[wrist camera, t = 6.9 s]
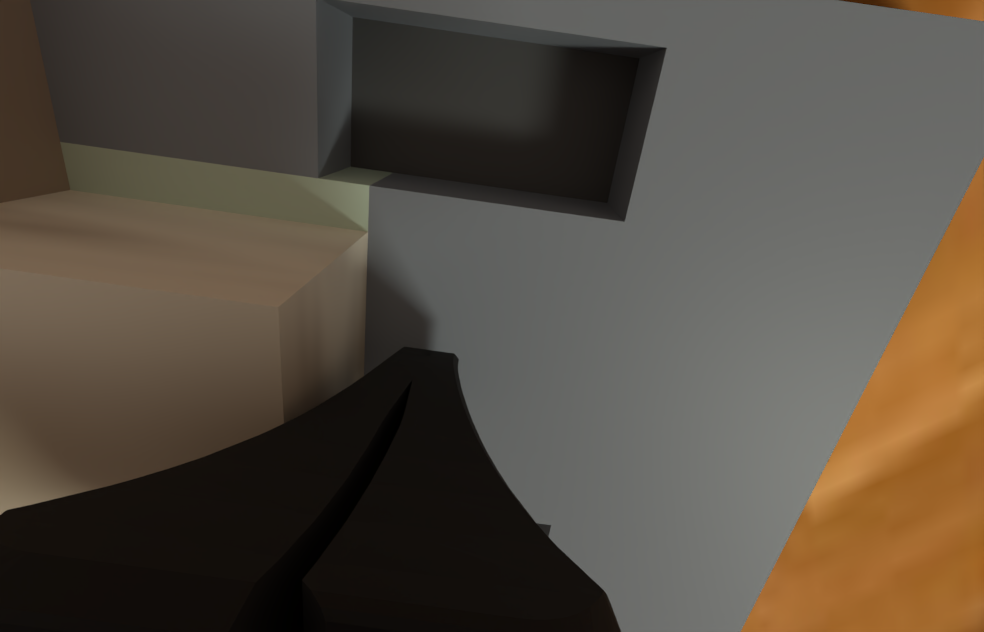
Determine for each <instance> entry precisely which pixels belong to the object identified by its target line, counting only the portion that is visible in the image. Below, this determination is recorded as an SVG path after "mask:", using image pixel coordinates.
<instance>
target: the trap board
mask: <svg viewBox="0 0 984 632" xmlns="http://www.w3.org/2000/svg"><path fill="white" fill-rule="evenodd" d="M983 157H984V21H977V20H970V19H963V18H956V17H950V16H943V15H936V14H929V13H922V12H915V11H908V10H901V9H895V8H888V7H881V6H874V5H867V4H860V3H853V2H846V1H840V0H0V203H3V202H8V201H14V200H19V199H24V198H30V197H35V196H41V195H46V194H51V193H57V192H62V191H67V190H74V191H82V192H89V193H96V194H103V195H110V196H117V197H124V198H131V199H138V200H145V201H153V202H160V203H167V204H174V205H181V206H188V207H195V208H202V209H209V210H216V211H223V212H231V213H238V214H245V215H252V216H259V217H266V218H273V219H280V220H287V221H294V222H302V223H309V224H316V225H323V226H330V227H337V228H344V229H351V230H358V231H365V232H368V251H367V285H366V319H365V353H364V375H366V374H367V373H369V372H370V371H371V370H373V369H374V368H375V367H377V366H378V365H380V364H381V363H382V362H384V361H385V360H386V359H388V358H389V357H390V356H392V355H393V354H394V353H396V352H397V351H399V350H400V349H401V348H403V347H411V348H419V349H426V350H433V351H440V352H447V353H454V354H455V355H456V356H457V357H458V359H459V363H458V373H459V379H460V384H461V388H462V392H463V395H464V398H465V401H466V404H467V407H468V410H469V413H470V416H471V418H472V421H473V423H474V425H475V428H476V430H477V432H478V434H479V437H480V439H481V441H482V443H483V445H484V447H485V449H486V451H487V452H488V454H489V456H490V458H491V459H492V461H493V463H494V465H495V466H496V468H497V470H498V471H499V473H500V474H501V476H502V477H503V479H504V481H505V482H506V484H507V485H508V487H509V488H510V490H511V491H512V492H513V494H514V495H515V496H516V497H517V499H518V500H519V501H520V503H521V504H522V505H523V507H524V508H525V509H526V510H527V512H528V513H529V514H530V516H531V517H532V518H533V520H534V521H535V522H536V523H537V525H538V526H539V527H540V528H541V529H542V530H543V531H544V533H545V534H546V535H547V536H548V537H549V538H550V539H551V540H552V541H553V542H554V543H555V545H556V546H557V547H558V548H559V549H561V550H562V551H563V552H564V553H565V554H566V555H567V556H568V557H569V558H570V559H571V560H572V561H573V562H574V563H575V564H576V565H578V566H579V567H580V568H581V569H582V570H583V571H584V572H585V573H586V574H587V575H588V576H589V577H590V578H591V579H592V580H593V581H595V582H596V583H597V584H598V585H599V586H600V587H601V588H602V589H603V590H604V591H605V592H606V594H607V596H608V598H609V601H610V603H611V606H612V608H613V611H614V614H615V616H616V619H617V622H618V624H619V627H620V630H621V632H740V631H741V629H742V628H743V626H744V624H745V622H746V620H747V618H748V616H749V614H750V612H751V610H752V608H753V606H754V604H755V602H756V600H757V598H758V596H759V594H760V592H761V590H762V589H763V587H764V585H765V583H766V581H767V579H768V577H769V575H770V573H771V571H772V569H773V567H774V565H775V563H776V561H777V559H778V557H779V555H780V553H781V551H782V549H783V548H784V546H785V544H786V542H787V540H788V538H789V536H790V534H791V532H792V530H793V528H794V526H795V524H796V522H797V520H798V518H799V516H800V514H801V512H802V510H803V509H804V507H805V505H806V503H807V501H808V499H809V497H810V495H811V493H812V491H813V489H814V487H815V485H816V483H817V481H818V479H819V477H820V475H821V473H822V471H823V470H824V468H825V466H826V464H827V462H828V460H829V458H830V456H831V454H832V452H833V450H834V448H835V446H836V444H837V442H838V440H839V438H840V436H841V434H842V432H843V430H844V429H845V427H846V425H847V423H848V421H849V419H850V417H851V415H852V413H853V411H854V409H855V407H856V405H857V403H858V401H859V399H860V397H861V395H862V393H863V391H864V390H865V388H866V386H867V384H868V382H869V380H870V378H871V376H872V374H873V372H874V370H875V368H876V366H877V364H878V362H879V360H880V358H881V356H882V354H883V352H884V351H885V349H886V347H887V345H888V343H889V341H890V339H891V337H892V335H893V333H894V331H895V329H896V327H897V325H898V323H899V321H900V319H901V317H902V315H903V313H904V311H905V310H906V308H907V306H908V304H909V302H910V300H911V298H912V296H913V294H914V292H915V290H916V288H917V286H918V284H919V282H920V280H921V278H922V276H923V274H924V272H925V271H926V269H927V267H928V265H929V263H930V261H931V259H932V257H933V255H934V253H935V251H936V249H937V247H938V245H939V243H940V241H941V239H942V237H943V235H944V233H945V232H946V230H947V228H948V226H949V224H950V222H951V220H952V218H953V216H954V214H955V212H956V210H957V208H958V206H959V204H960V202H961V200H962V198H963V196H964V194H965V192H966V191H967V189H968V187H969V185H970V183H971V181H972V179H973V177H974V175H975V173H976V171H977V169H978V167H979V165H980V163H981V161H982V159H983Z"/></svg>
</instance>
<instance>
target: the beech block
mask: <svg viewBox="0 0 984 632" xmlns="http://www.w3.org/2000/svg"><path fill="white" fill-rule="evenodd" d="M367 251H368V232H365V231H358V230H351V229H344V228H337V227H330V226H323V225H316V224H309V223H302V222H294V221H287V220H280V219H273V218H266V217H259V216H252V215H245V214H238V213H231V212H223V211H216V210H209V209H202V208H195V207H188V206H181V205H174V204H167V203H160V202H153V201H145V200H138V199H131V198H124V197H117V196H110V195H103V194H96V193H89V192H82V191H74V190H67V191H62V192H57V193H51V194H46V195H41V196H35V197H30V198H24V199H19V200H14V201H8V202H3V203H0V515H1V514H2V513H3V512H5V511H6V510H9V509H13V508H18V507H23V506H27V505H32V504H36V503H40V502H44V501H49V500H53V499H57V498H61V497H65V496H69V495H73V494H77V493H82V492H86V491H90V490H94V489H98V488H102V487H106V486H110V485H114V484H118V483H121V482H125V481H128V480H132V479H135V478H139V477H142V476H145V475H149V474H152V473H155V472H159V471H162V470H165V469H169V468H172V467H175V466H178V465H181V464H184V463H187V462H190V461H193V460H196V459H199V458H202V457H204V456H207V455H210V454H212V453H215V452H217V451H220V450H222V449H225V448H228V447H230V446H233V445H235V444H238V443H240V442H243V441H245V440H248V439H250V438H253V437H255V436H258V435H260V434H262V433H265V432H267V431H269V430H271V429H273V428H275V427H277V426H280V425H282V424H284V423H286V422H288V421H290V420H292V419H294V418H296V417H298V416H300V415H302V414H304V413H305V412H307V411H309V410H311V409H313V408H314V407H316V406H318V405H320V404H321V403H323V402H324V401H326V400H328V399H329V398H331V397H333V396H334V395H336V394H337V393H339V392H341V391H342V390H344V389H346V388H347V387H349V386H350V385H352V384H353V383H354V382H356V381H357V380H359V379H360V378H362V377H363V376H364V353H365V319H366V285H367Z"/></svg>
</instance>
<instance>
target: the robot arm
mask: <svg viewBox="0 0 984 632" xmlns="http://www.w3.org/2000/svg"><path fill="white" fill-rule="evenodd" d="M458 363H459V359H458V357H457V356H456V355H455V354H454V353H447V352H440V351H433V350H426V349H419V348H411V347H403V348H401V349H400V350H399V351H397V352H396V353H394V354H393V355H392V356H390V357H389V358H388V359H386V360H385V361H384V362H382V363H381V364H380V365H378V366H377V367H375V368H374V369H373V370H371V371H370V372H369V373H367V374H366V375H364V376H363V377H362V378H360V379H359V380H357V381H356V382H354V383H353V384H352V385H350V386H349V387H347V388H346V389H344V390H342V391H341V392H339V393H337V394H336V395H334V396H333V397H331V398H329V399H328V400H326V401H324V402H323V403H321V404H320V405H318V406H316V407H314V408H313V409H311V410H309V411H307V412H305V413H304V414H302V415H300V416H298V417H296V418H294V419H292V420H290V421H288V422H286V423H284V424H282V425H280V426H277V427H275V428H273V429H271V430H269V431H267V432H265V433H262V434H260V435H258V436H255V437H253V438H250V439H248V440H245V441H243V442H240V443H238V444H235V445H233V446H230V447H228V448H225V449H222V450H220V451H217V452H215V453H212V454H210V455H207V456H204V457H202V458H199V459H196V460H193V461H190V462H187V463H184V464H181V465H178V466H175V467H172V468H169V469H165V470H162V471H159V472H155V473H152V474H149V475H145V476H142V477H139V478H135V479H132V480H128V481H125V482H121V483H118V484H114V485H110V486H106V487H102V488H98V489H94V490H90V491H86V492H82V493H77V494H73V495H69V496H65V497H61V498H57V499H53V500H49V501H44V502H40V503H36V504H32V505H27V506H23V507H18V508H13V509H9V510H6V511H5V512H3V513H2V514H1V515H0V632H621V630H620V627H619V624H618V622H617V619H616V616H615V614H614V611H613V608H612V606H611V603H610V601H609V598H608V596H607V594H606V592H605V591H604V590H603V589H602V588H601V587H600V586H599V585H598V584H597V583H596V582H595V581H593V580H592V579H591V578H590V577H589V576H588V575H587V574H586V573H585V572H584V571H583V570H582V569H581V568H580V567H579V566H578V565H576V564H575V563H574V562H573V561H572V560H571V559H570V558H569V557H568V556H567V555H566V554H565V553H564V552H563V551H562V550H561V549H559V548H558V547H557V546H556V545H555V543H554V542H553V541H552V540H551V539H550V538H549V537H548V536H547V535H546V534H545V533H544V531H543V530H542V529H541V528H540V527H539V526H538V525H537V523H536V522H535V521H534V520H533V518H532V517H531V516H530V514H529V513H528V512H527V510H526V509H525V508H524V507H523V505H522V504H521V503H520V501H519V500H518V499H517V497H516V496H515V495H514V494H513V492H512V491H511V490H510V488H509V487H508V485H507V484H506V482H505V481H504V479H503V477H502V476H501V474H500V473H499V471H498V470H497V468H496V466H495V465H494V463H493V461H492V459H491V458H490V456H489V454H488V452H487V451H486V449H485V447H484V445H483V443H482V441H481V439H480V437H479V434H478V432H477V430H476V428H475V425H474V423H473V421H472V418H471V416H470V413H469V410H468V407H467V404H466V401H465V398H464V395H463V392H462V388H461V384H460V379H459V373H458Z"/></svg>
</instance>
